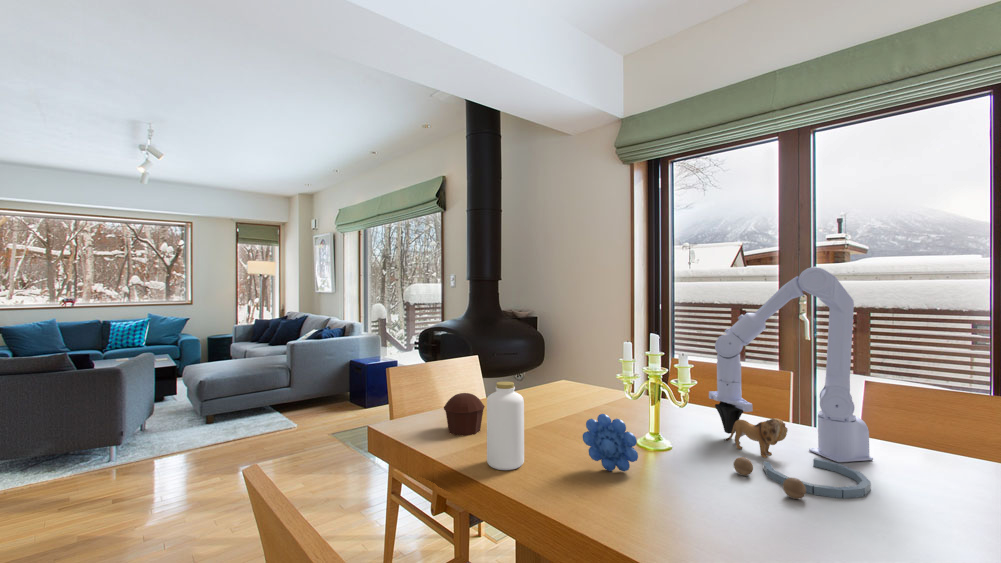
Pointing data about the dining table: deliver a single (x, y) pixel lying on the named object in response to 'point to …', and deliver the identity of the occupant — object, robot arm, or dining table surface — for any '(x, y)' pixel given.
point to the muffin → (464, 414)
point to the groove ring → (829, 491)
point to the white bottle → (505, 427)
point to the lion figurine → (760, 433)
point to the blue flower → (610, 443)
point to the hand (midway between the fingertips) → (729, 432)
